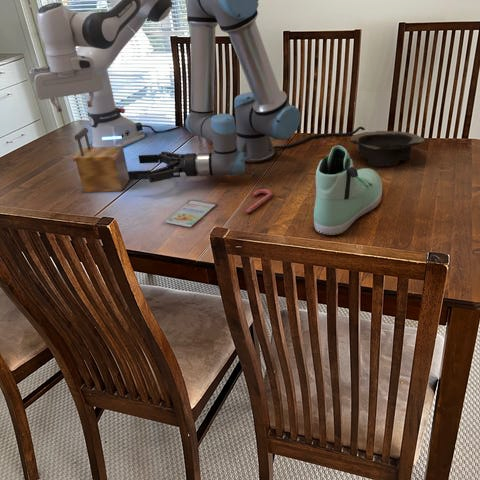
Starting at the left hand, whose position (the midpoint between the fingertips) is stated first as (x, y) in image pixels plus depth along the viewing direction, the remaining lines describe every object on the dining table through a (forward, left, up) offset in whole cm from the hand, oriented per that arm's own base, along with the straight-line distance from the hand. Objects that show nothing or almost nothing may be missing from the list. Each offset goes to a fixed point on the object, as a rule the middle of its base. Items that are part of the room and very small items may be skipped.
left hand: (75, 109), depth 152 cm
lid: (-3, +3, -16) cm, 16 cm away
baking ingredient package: (-7, +43, -27) cm, 51 cm away
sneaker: (-38, +78, -27) cm, 91 cm away
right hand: (-9, +13, -20) cm, 25 cm away
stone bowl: (-77, +66, -27) cm, 105 cm away
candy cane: (-24, +54, -27) cm, 65 cm away
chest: (-3, +4, -27) cm, 27 cm away
